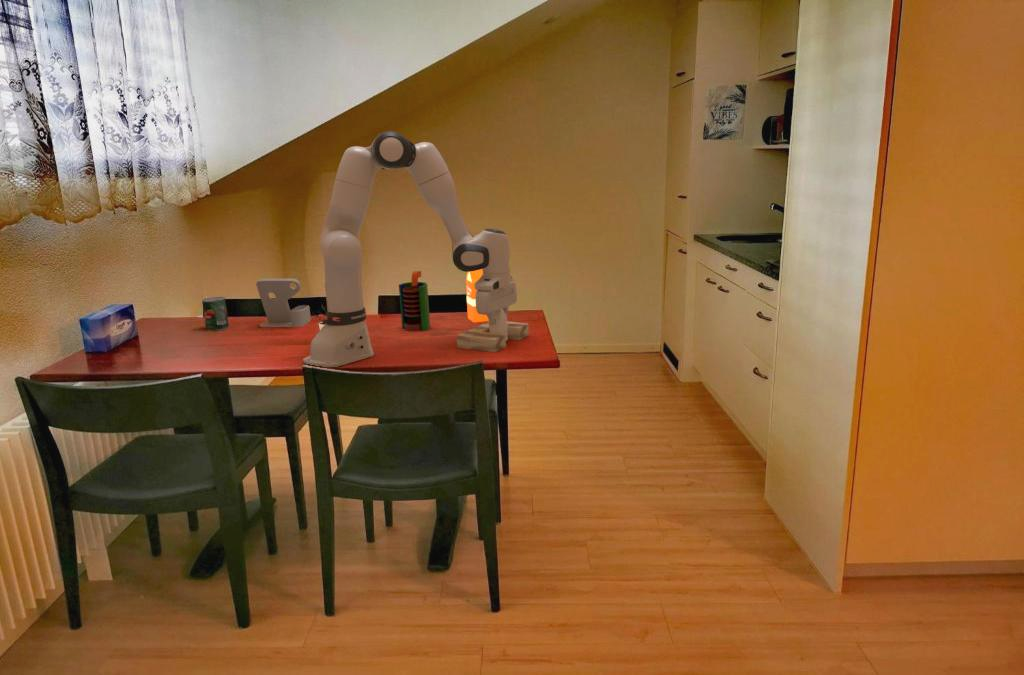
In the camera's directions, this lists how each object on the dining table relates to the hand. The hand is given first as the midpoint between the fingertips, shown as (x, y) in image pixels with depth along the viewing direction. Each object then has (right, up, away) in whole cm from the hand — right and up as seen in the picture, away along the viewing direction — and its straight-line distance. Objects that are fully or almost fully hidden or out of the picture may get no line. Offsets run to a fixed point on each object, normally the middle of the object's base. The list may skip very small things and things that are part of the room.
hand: (498, 322), depth 236 cm
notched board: (-1, -6, +3) cm, 7 cm away
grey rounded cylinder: (0, -6, +2) cm, 6 cm away
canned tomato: (-104, -2, +33) cm, 109 cm away
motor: (-29, -2, +24) cm, 38 cm away
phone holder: (-79, 0, +35) cm, 87 cm away
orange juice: (-7, +2, +33) cm, 34 cm away
